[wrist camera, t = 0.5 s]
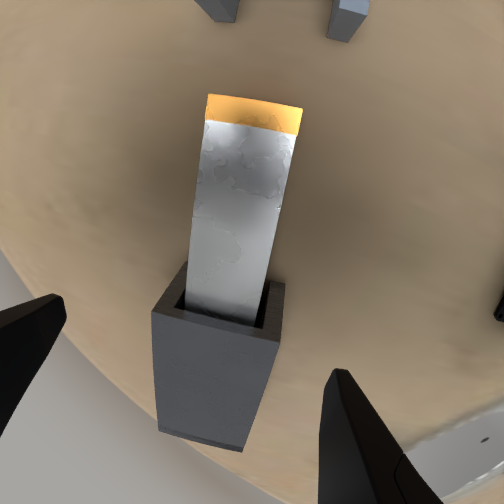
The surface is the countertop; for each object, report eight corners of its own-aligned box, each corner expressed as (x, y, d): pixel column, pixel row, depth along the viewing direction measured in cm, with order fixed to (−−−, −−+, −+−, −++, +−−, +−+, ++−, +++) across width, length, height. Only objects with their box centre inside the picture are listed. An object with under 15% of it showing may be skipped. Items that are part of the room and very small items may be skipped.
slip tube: (300, 111, 16) (302, 109, 12) (239, 385, 26) (230, 425, 22) (229, 98, 16) (208, 93, 12) (194, 374, 26) (179, 412, 22)
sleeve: (285, 284, 21) (280, 342, 16) (251, 399, 27) (241, 452, 21) (185, 261, 21) (151, 311, 16) (179, 381, 27) (158, 430, 22)
